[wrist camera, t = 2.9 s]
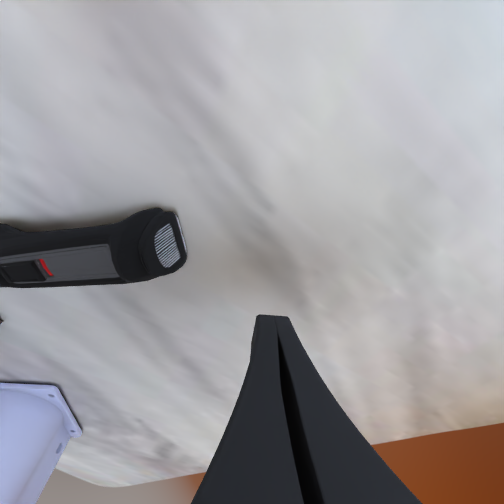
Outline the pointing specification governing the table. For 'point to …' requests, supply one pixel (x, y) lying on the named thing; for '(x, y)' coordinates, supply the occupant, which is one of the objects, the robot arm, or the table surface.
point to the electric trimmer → (93, 253)
